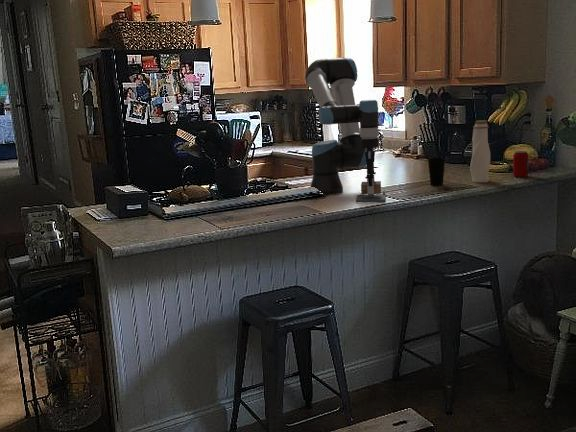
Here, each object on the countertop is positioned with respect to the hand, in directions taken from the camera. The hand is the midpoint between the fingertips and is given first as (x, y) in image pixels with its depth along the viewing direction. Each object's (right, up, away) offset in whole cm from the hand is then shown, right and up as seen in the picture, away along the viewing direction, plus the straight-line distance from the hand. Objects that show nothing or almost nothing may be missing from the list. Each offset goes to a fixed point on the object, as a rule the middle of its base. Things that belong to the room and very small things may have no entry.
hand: (371, 191), depth 269 cm
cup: (+34, +4, +27) cm, 43 cm away
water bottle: (+55, +6, +30) cm, 63 cm away
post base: (0, -3, +1) cm, 3 cm away
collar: (0, 0, 0) cm, 0 cm away
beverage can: (+76, +8, +35) cm, 84 cm away
